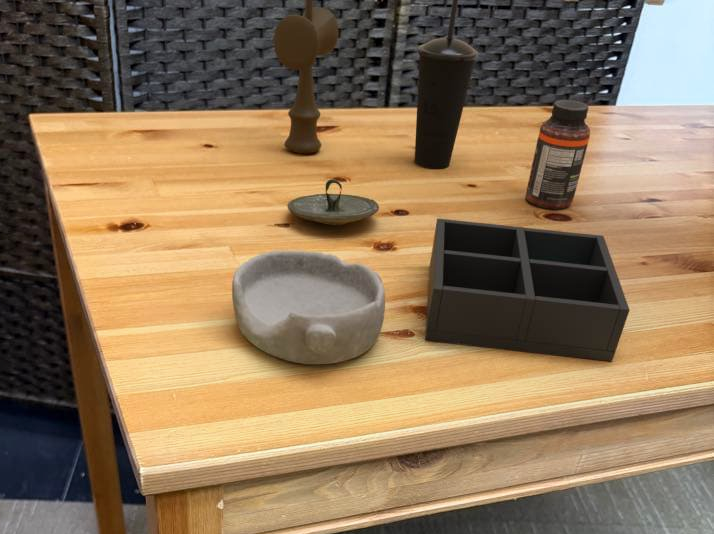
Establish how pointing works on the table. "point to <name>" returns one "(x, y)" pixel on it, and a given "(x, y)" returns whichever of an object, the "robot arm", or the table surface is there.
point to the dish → (308, 306)
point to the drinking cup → (441, 95)
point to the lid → (333, 207)
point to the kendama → (305, 68)
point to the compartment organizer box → (524, 290)
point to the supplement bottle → (559, 156)
